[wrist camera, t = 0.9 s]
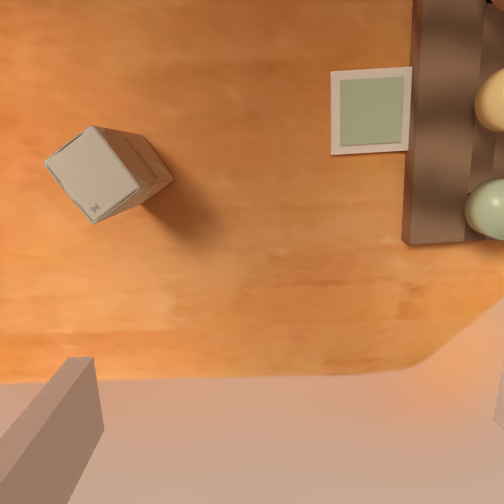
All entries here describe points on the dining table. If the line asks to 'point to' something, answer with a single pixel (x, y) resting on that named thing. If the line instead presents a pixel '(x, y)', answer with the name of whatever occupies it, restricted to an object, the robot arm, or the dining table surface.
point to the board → (449, 117)
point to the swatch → (370, 110)
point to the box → (108, 171)
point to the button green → (487, 208)
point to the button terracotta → (499, 4)
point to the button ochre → (491, 102)
